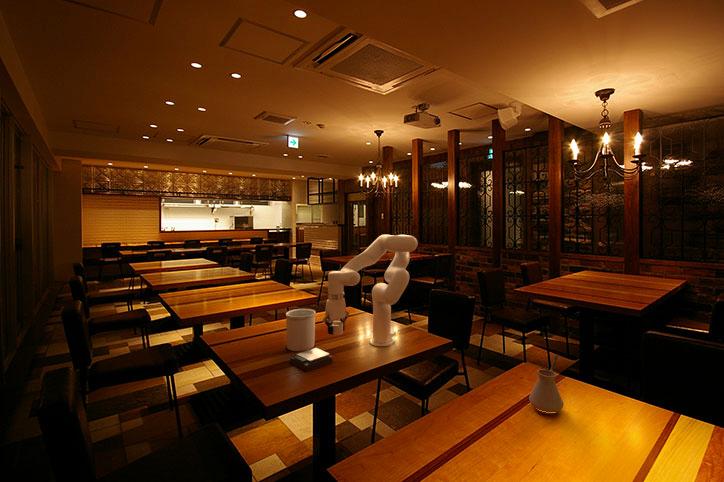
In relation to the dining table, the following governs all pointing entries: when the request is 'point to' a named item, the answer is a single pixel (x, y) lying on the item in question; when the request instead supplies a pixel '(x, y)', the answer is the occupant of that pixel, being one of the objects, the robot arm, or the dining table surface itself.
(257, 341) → the dining table surface
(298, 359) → the scale
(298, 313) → the utensil holder
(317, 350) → the scale pan
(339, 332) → the bowl
